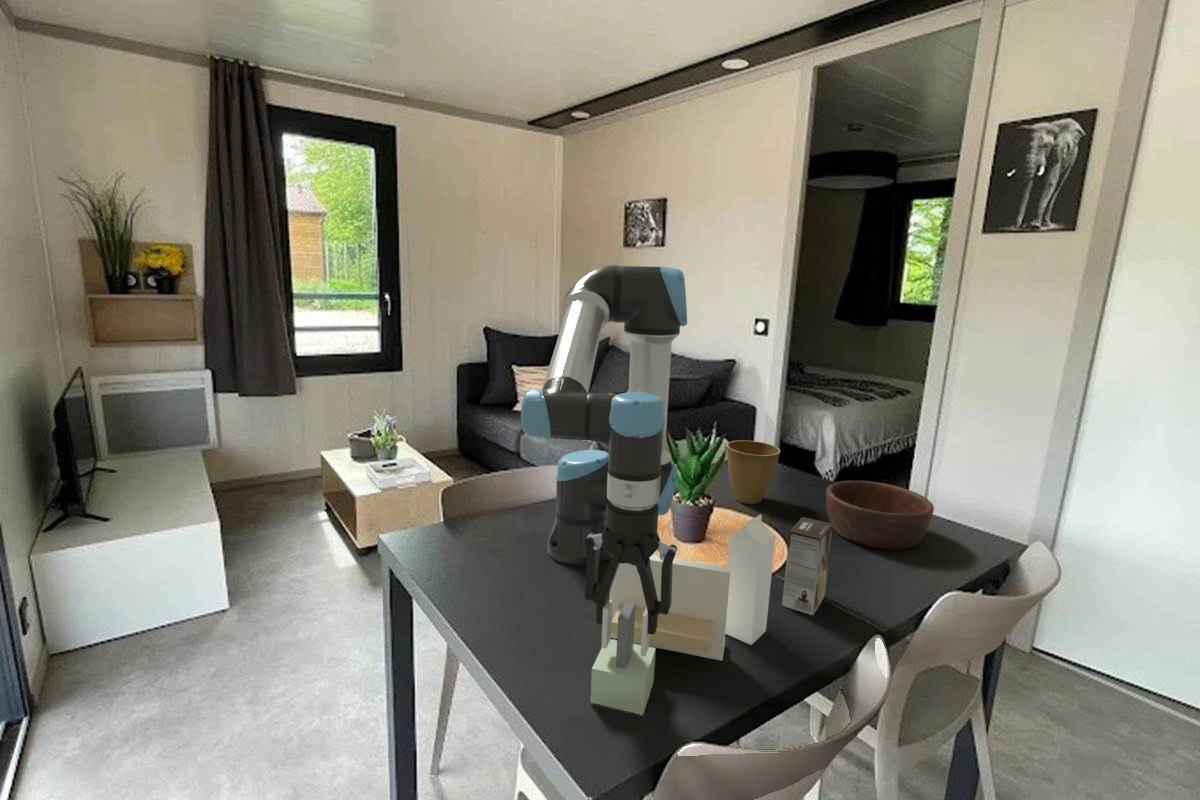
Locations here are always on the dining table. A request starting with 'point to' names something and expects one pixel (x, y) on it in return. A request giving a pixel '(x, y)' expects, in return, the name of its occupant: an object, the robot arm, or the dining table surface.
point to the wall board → (679, 606)
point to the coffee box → (807, 565)
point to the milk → (749, 580)
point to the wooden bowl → (878, 514)
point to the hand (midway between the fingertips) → (625, 646)
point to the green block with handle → (623, 669)
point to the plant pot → (751, 469)
